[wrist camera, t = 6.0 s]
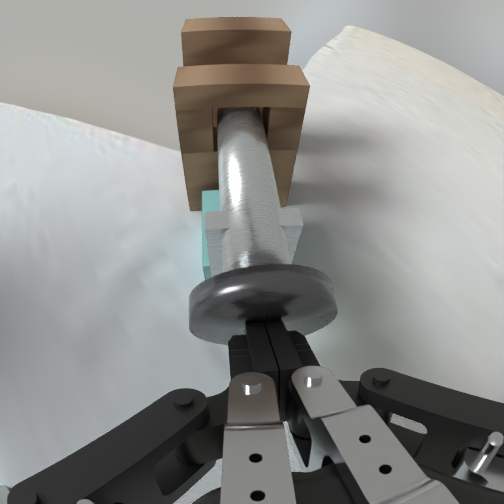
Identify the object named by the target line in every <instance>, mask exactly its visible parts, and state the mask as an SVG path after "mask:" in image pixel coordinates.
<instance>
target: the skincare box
mask: <svg viewBox="0 0 504 504" xmlns="http://www.w3.org/2000/svg"><path fill="white" fill-rule="evenodd" d="M9 492H10V489H9V488H8V487H7V486H5V485H0V504H7V497H8V494H9Z"/></svg>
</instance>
